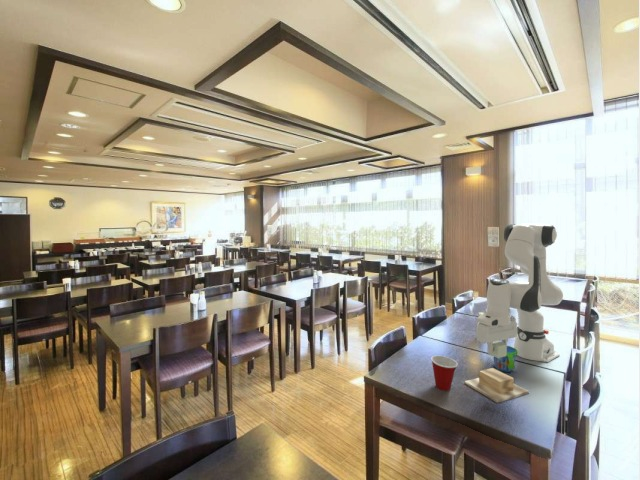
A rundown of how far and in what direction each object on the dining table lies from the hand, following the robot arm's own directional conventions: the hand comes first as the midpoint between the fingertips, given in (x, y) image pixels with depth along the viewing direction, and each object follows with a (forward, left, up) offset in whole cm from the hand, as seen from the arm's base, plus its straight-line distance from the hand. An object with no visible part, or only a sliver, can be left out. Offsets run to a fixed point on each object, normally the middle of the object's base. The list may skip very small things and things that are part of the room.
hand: (496, 349), depth 133 cm
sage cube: (0, 0, -2) cm, 2 cm away
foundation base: (0, 0, -17) cm, 17 cm away
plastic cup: (+20, -9, -17) cm, 28 cm away
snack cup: (-19, -11, -17) cm, 28 cm away
